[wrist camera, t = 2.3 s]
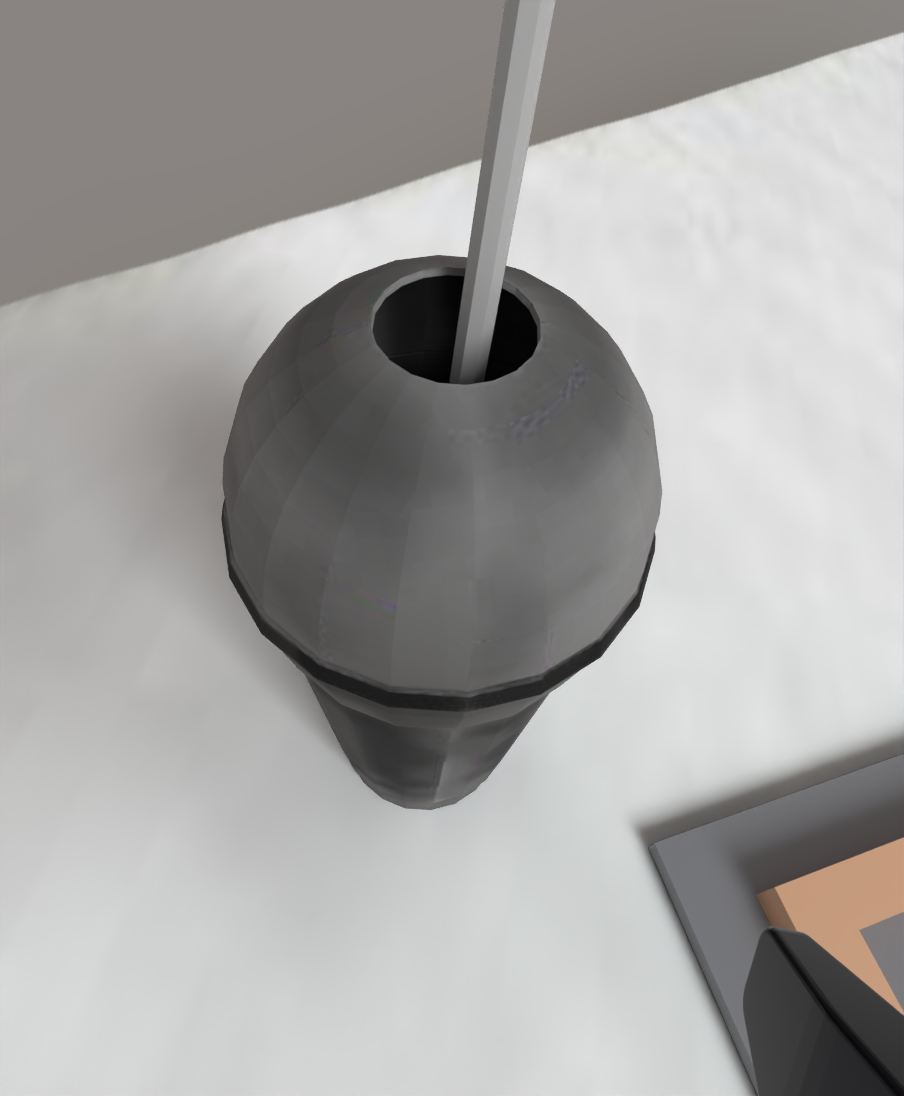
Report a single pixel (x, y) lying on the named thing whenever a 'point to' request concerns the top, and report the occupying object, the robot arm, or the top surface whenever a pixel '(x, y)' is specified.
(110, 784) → the top surface
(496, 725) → the beverage cup
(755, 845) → the cup dock
